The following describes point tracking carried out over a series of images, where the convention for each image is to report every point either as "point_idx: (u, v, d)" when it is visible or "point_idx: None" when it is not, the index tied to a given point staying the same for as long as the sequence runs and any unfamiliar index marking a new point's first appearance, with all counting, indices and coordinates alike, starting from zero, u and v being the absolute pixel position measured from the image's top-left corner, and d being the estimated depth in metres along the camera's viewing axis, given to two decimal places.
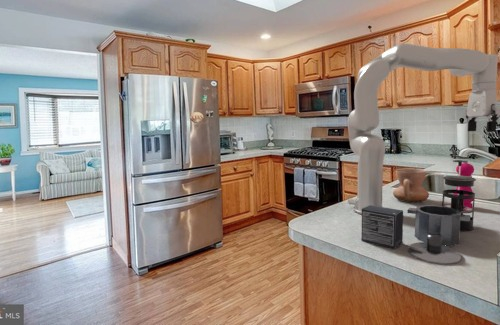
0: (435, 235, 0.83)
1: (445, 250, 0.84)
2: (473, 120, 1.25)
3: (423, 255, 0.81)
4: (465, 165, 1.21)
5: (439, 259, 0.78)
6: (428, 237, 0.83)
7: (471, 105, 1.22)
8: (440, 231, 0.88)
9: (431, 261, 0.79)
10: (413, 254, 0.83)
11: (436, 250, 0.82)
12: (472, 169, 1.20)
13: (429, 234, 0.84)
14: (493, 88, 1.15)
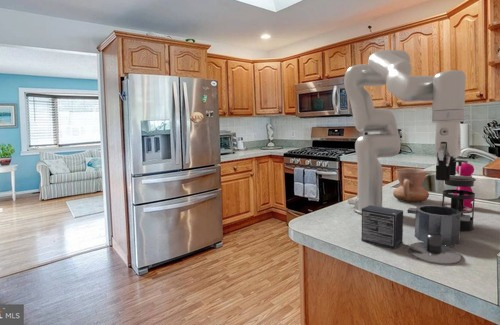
0: (435, 235, 0.83)
1: (445, 250, 0.84)
2: None
3: (423, 255, 0.81)
4: (465, 165, 1.21)
5: (439, 259, 0.78)
6: (428, 237, 0.83)
7: (457, 141, 0.81)
8: (440, 231, 0.88)
9: (431, 261, 0.79)
10: (413, 254, 0.83)
11: (436, 250, 0.82)
12: (472, 169, 1.20)
13: (429, 234, 0.84)
14: None
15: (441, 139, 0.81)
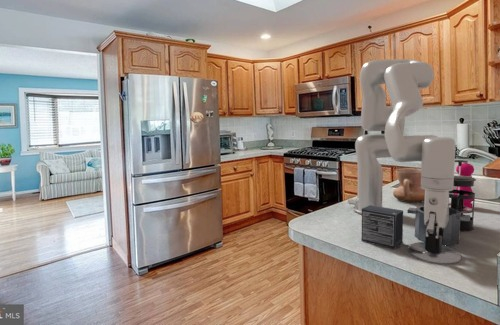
0: None
1: (445, 250, 0.84)
2: None
3: (423, 255, 0.81)
4: (465, 165, 1.21)
5: (439, 259, 0.78)
6: None
7: (446, 210, 0.79)
8: None
9: (431, 261, 0.79)
10: (413, 254, 0.83)
11: None
12: (472, 169, 1.20)
13: None
14: None
15: (430, 208, 0.78)
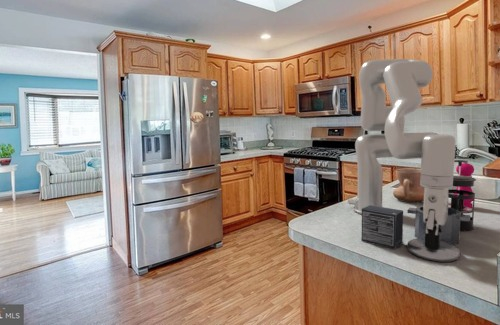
0: None
1: (443, 246, 0.84)
2: None
3: (422, 251, 0.82)
4: (465, 165, 1.21)
5: (438, 255, 0.79)
6: None
7: (445, 207, 0.79)
8: None
9: (430, 257, 0.79)
10: (412, 250, 0.83)
11: None
12: (472, 169, 1.20)
13: None
14: None
15: (429, 206, 0.79)
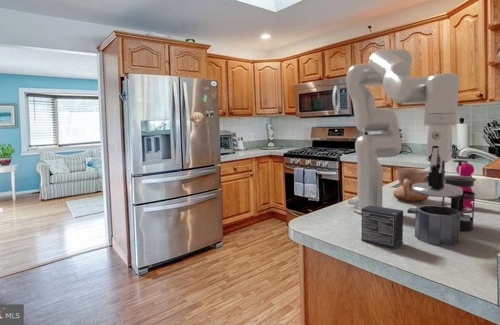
0: None
1: (447, 186, 0.86)
2: None
3: (425, 189, 0.84)
4: (465, 165, 1.21)
5: (441, 191, 0.81)
6: None
7: (449, 145, 0.81)
8: (440, 231, 0.88)
9: (433, 194, 0.81)
10: (416, 189, 0.85)
11: None
12: (472, 169, 1.20)
13: None
14: None
15: (433, 143, 0.81)
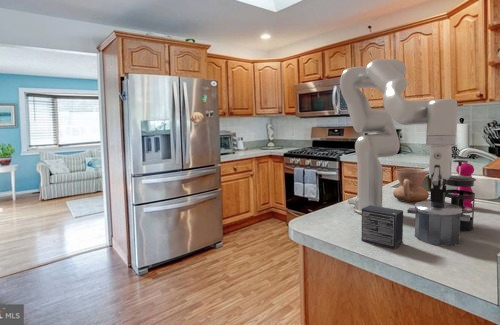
0: None
1: (447, 205, 0.93)
2: None
3: (428, 209, 0.91)
4: (465, 165, 1.21)
5: (442, 211, 0.88)
6: None
7: (449, 164, 0.88)
8: (440, 231, 0.88)
9: (435, 213, 0.88)
10: (419, 209, 0.92)
11: (439, 205, 0.91)
12: (472, 169, 1.20)
13: None
14: None
15: (435, 162, 0.88)
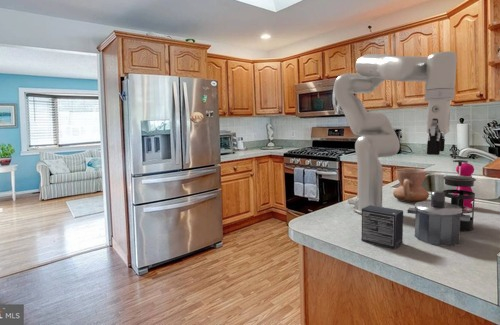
0: (439, 192, 0.92)
1: (447, 205, 0.93)
2: None
3: (428, 209, 0.91)
4: (465, 165, 1.21)
5: (442, 211, 0.88)
6: (432, 194, 0.92)
7: (447, 118, 0.88)
8: (440, 231, 0.88)
9: (435, 213, 0.88)
10: (419, 209, 0.92)
11: (439, 205, 0.91)
12: (472, 169, 1.20)
13: (433, 191, 0.93)
14: None
15: (433, 116, 0.88)
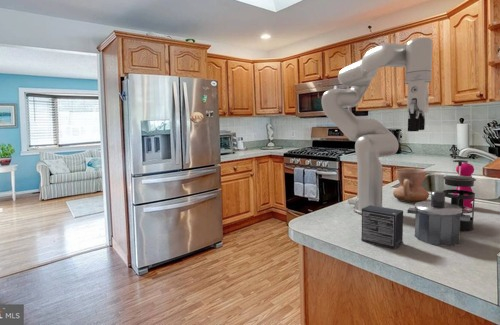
0: (439, 192, 0.92)
1: (447, 205, 0.93)
2: None
3: (428, 209, 0.91)
4: (465, 165, 1.21)
5: (442, 211, 0.88)
6: (432, 194, 0.92)
7: (425, 97, 0.96)
8: (440, 231, 0.88)
9: (435, 213, 0.88)
10: (419, 209, 0.92)
11: (439, 205, 0.91)
12: (472, 169, 1.20)
13: (433, 191, 0.93)
14: None
15: (412, 96, 0.96)
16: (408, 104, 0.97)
